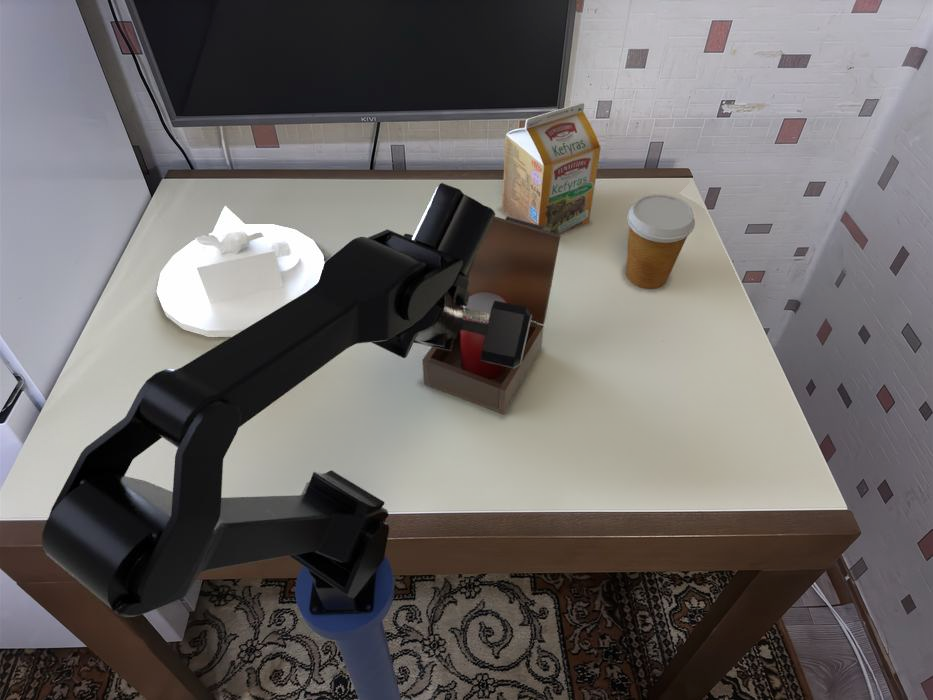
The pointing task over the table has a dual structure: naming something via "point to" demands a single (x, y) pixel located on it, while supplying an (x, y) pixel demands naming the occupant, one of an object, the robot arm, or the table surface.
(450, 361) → the chest
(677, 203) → the disposable coffee cup
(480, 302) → the can
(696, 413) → the table surface
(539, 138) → the milk carton
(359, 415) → the table surface
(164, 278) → the dish
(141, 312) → the table surface
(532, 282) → the chest lid
